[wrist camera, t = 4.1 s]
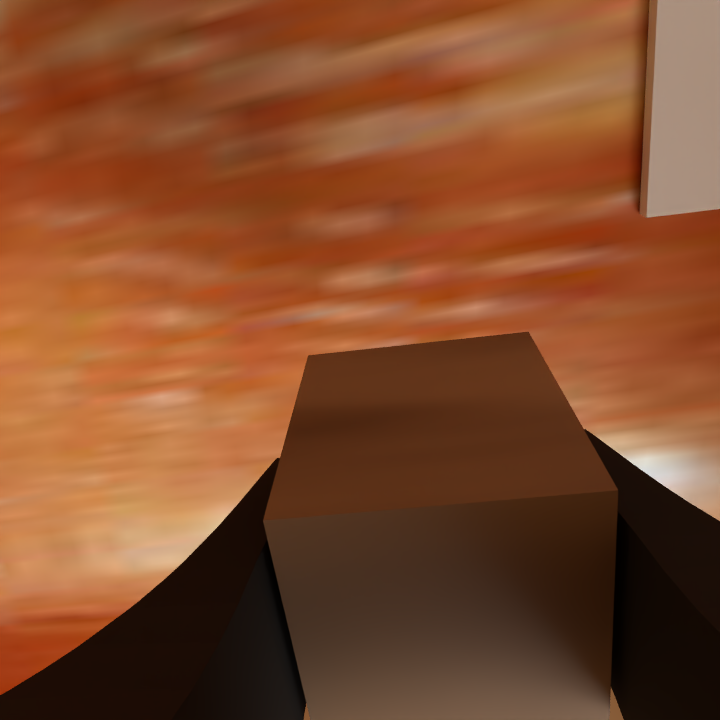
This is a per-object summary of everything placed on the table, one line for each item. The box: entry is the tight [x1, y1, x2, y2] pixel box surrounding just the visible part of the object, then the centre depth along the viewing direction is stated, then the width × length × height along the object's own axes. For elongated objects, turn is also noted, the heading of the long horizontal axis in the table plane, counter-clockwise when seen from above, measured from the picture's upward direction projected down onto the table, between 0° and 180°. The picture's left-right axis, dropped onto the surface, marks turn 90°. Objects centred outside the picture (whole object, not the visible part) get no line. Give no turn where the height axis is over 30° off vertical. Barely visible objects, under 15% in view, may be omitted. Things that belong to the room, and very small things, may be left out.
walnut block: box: [263, 332, 618, 720], centre depth 11 cm, size 4×4×5 cm
